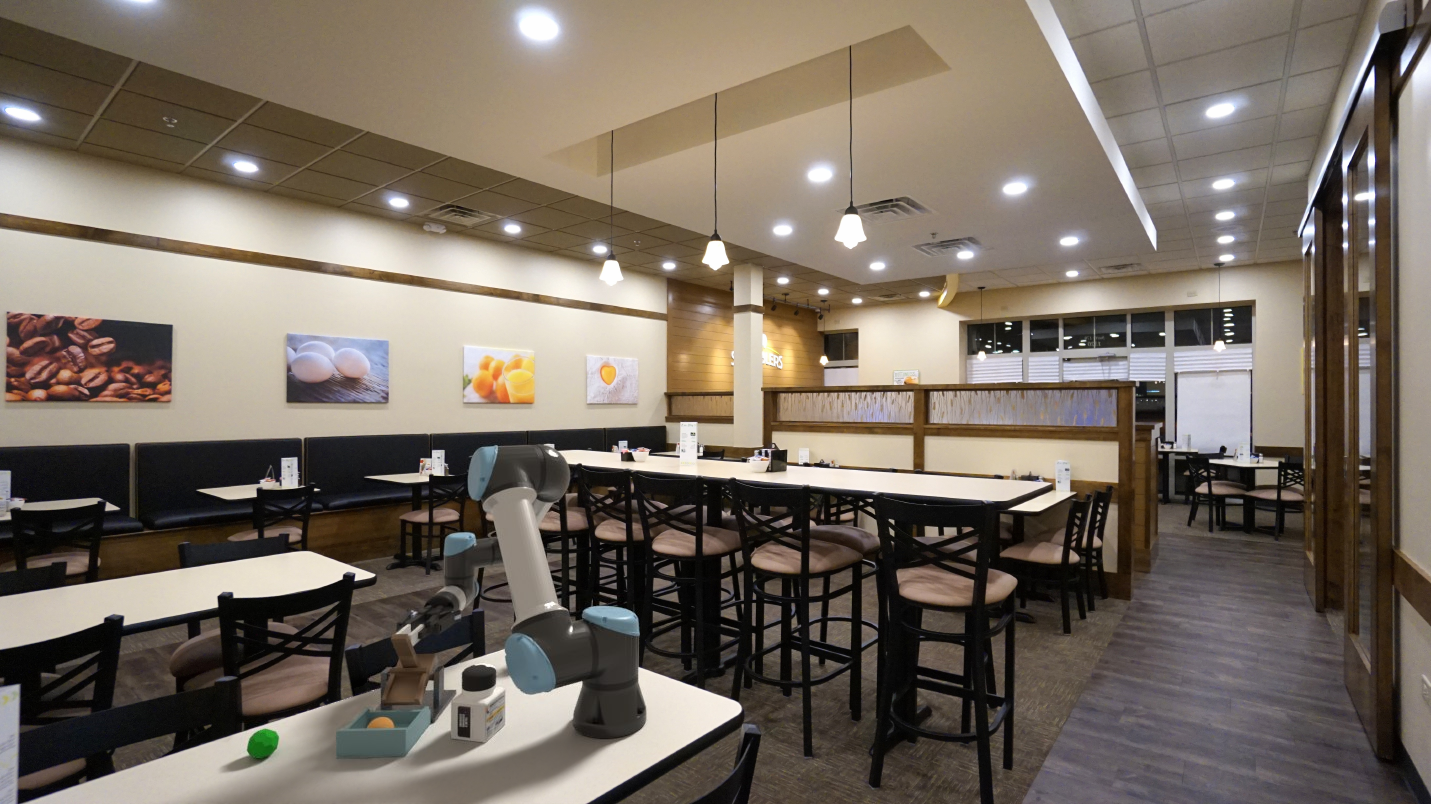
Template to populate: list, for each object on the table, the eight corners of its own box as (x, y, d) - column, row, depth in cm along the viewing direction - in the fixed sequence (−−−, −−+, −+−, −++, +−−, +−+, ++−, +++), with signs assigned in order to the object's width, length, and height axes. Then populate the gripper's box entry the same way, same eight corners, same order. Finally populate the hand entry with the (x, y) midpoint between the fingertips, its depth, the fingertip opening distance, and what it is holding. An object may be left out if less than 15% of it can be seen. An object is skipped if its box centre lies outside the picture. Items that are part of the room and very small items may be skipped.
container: (485, 743, 128) (486, 676, 128) (449, 739, 130) (450, 673, 130) (505, 724, 136) (506, 661, 136) (472, 720, 137) (472, 658, 137)
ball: (391, 741, 124) (400, 714, 128) (363, 736, 123) (373, 710, 126) (386, 752, 127) (395, 726, 131) (359, 748, 125) (368, 721, 129)
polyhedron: (282, 747, 126) (283, 722, 126) (273, 761, 121) (273, 735, 121) (252, 751, 125) (253, 726, 125) (242, 765, 120) (242, 738, 120)
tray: (367, 725, 135) (367, 700, 135) (430, 723, 136) (430, 699, 136) (335, 758, 123) (336, 731, 123) (405, 756, 123) (405, 729, 123)
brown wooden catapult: (403, 664, 148) (383, 619, 138) (444, 663, 149) (427, 619, 139) (385, 714, 139) (362, 670, 129) (428, 713, 140) (409, 670, 130)
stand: (393, 695, 149) (393, 657, 149) (456, 694, 150) (456, 656, 150) (365, 724, 136) (365, 682, 136) (434, 722, 136) (435, 681, 136)
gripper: (475, 621, 163) (438, 659, 139) (413, 620, 163) (365, 658, 139) (476, 591, 163) (439, 624, 139) (413, 590, 162) (366, 623, 139)
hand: (402, 641), depth 139 cm, fingers open, 2 cm apart
